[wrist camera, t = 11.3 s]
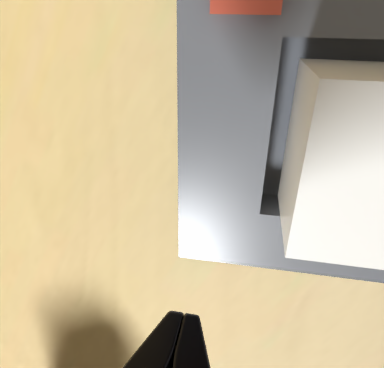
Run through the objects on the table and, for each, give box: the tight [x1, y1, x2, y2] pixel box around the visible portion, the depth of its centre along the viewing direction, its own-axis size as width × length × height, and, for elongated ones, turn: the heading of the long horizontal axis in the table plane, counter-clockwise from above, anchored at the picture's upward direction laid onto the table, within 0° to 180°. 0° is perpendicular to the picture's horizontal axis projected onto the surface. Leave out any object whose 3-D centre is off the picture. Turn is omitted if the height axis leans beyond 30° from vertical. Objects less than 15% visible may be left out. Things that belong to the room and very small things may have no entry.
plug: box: [278, 58, 384, 270], centre depth 12 cm, size 6×5×6 cm
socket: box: [177, 0, 384, 283], centre depth 14 cm, size 14×14×4 cm
